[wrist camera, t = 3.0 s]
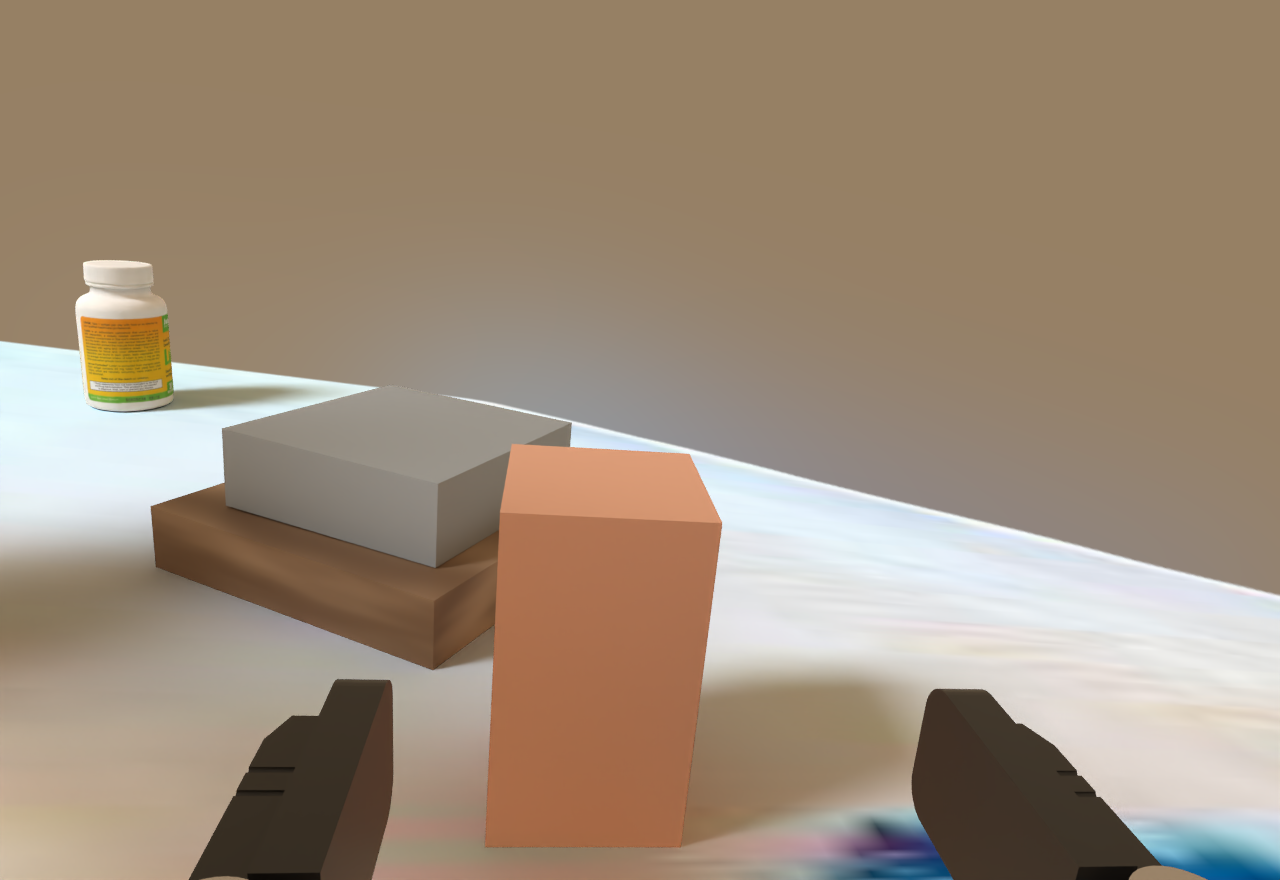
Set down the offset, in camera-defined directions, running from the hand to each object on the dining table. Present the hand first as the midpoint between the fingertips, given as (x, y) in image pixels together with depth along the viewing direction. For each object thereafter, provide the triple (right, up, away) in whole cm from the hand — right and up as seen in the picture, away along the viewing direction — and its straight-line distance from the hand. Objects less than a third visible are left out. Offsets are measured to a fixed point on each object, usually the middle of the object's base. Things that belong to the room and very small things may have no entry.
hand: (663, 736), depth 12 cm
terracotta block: (-2, -6, +14) cm, 15 cm away
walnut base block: (-12, -2, +28) cm, 31 cm away
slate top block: (-11, +2, +27) cm, 29 cm away
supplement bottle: (-36, +7, +47) cm, 60 cm away
